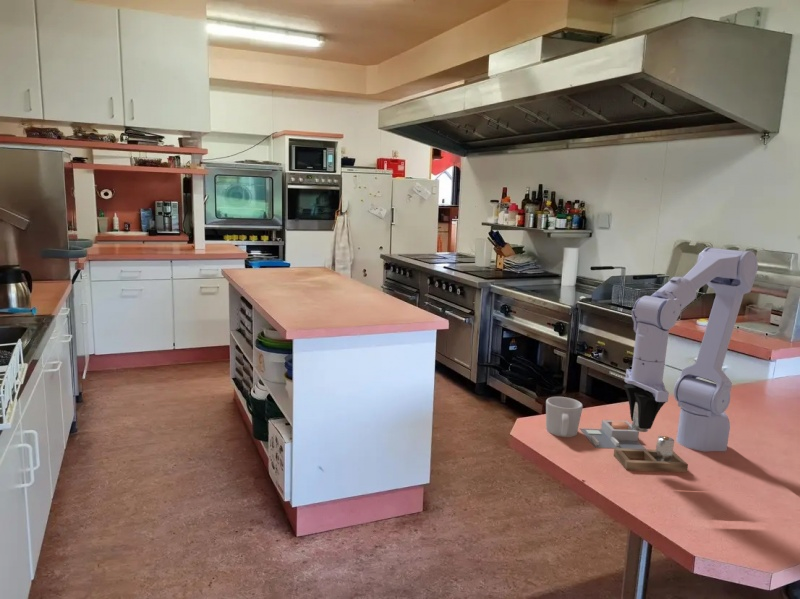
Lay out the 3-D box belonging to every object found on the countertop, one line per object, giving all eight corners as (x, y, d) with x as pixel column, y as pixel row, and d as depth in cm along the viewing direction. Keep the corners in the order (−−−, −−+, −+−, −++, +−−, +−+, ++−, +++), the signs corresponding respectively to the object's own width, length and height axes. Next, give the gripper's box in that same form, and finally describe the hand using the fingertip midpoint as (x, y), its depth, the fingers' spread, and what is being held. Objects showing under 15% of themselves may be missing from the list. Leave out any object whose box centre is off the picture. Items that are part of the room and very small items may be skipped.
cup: (582, 450, 123) (586, 415, 122) (544, 445, 125) (547, 410, 123) (577, 431, 134) (580, 398, 132) (542, 427, 135) (545, 394, 134)
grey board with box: (626, 435, 133) (627, 421, 132) (646, 454, 122) (647, 439, 122) (578, 433, 132) (580, 419, 132) (594, 453, 122) (596, 437, 122)
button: (624, 429, 131) (625, 421, 131) (630, 436, 128) (631, 427, 127) (608, 429, 131) (609, 420, 131) (614, 435, 128) (615, 426, 127)
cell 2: (666, 461, 117) (669, 434, 116) (673, 468, 114) (677, 440, 113) (651, 461, 117) (655, 433, 116) (658, 468, 114) (662, 440, 113)
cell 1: (644, 426, 116) (647, 398, 115) (650, 432, 113) (654, 403, 112) (629, 425, 116) (632, 397, 115) (635, 431, 113) (639, 402, 112)
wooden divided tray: (670, 463, 119) (672, 450, 118) (686, 477, 113) (688, 464, 112) (613, 461, 119) (614, 448, 118) (625, 475, 112) (627, 462, 112)
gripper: (614, 347, 119) (607, 410, 121) (645, 368, 104) (636, 438, 107) (648, 349, 119) (640, 411, 121) (683, 369, 105) (673, 440, 107)
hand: (640, 424), depth 114 cm, fingers closed on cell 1, 3 cm apart
